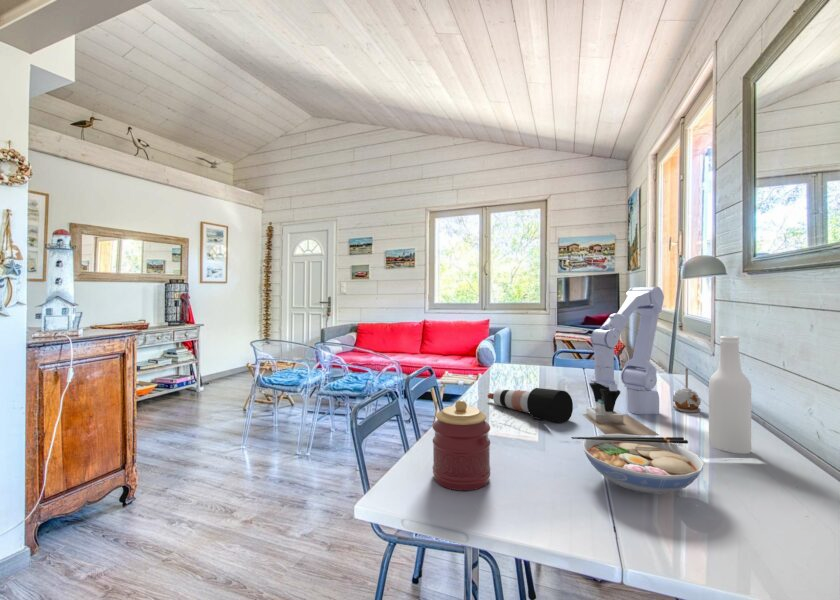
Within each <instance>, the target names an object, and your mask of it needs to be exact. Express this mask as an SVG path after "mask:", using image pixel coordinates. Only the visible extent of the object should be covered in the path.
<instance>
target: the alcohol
mask: <svg viewBox="0 0 840 600" xmlns="http://www.w3.org/2000/svg"><path fill="white" fill-rule="evenodd" d="M719 340H720V341H719V343H720V345H719V346H720V348H719V358H718V367H717V370H715V372H714V373H713V374H711V376H710V377H709V380H708V445H709V446H710V447H712V448H714V449H716V450H720V451H724V452H728V453H733V454H749V453H752V386H751V382H750V379H748V377H747V376H746V375H745V374H744V373H743V370H742V367H741V358H740V349H739V348H740V347H739V344H740V341H739V340H740V337H739V336H737V335H735V336H734V335H721V336H719Z"/></svg>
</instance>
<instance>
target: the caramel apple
mask: <svg viewBox="0 0 840 600" xmlns="http://www.w3.org/2000/svg"><path fill="white" fill-rule="evenodd" d="M672 396H673V398H672V401H673V402H674V404H673V407H672V408H673V409H675V410H677V411H681V412H683V411H685V412H684V413H700V412H701V408H700V405H701V400H702V399H701V397H699V394H698V392H696V391H695V390H693V389H692V388H691V387H690V388H689V368H688V367H685V387H683V388H679V389H678V390H676V391H675V392H674V394H673V395H672ZM699 411H700V412H699Z"/></svg>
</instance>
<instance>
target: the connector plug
mask: <svg viewBox="0 0 840 600" xmlns="http://www.w3.org/2000/svg"><path fill="white" fill-rule="evenodd" d="M595 405H596V406H595V407H596V412H597V413H598V414H612V412H606V411H605V407H604V400H603V397H602V400H598V402H595Z"/></svg>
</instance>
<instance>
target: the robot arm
mask: <svg viewBox="0 0 840 600" xmlns="http://www.w3.org/2000/svg"><path fill="white" fill-rule="evenodd" d="M625 298H626V299H625V301H624V302H623V303H622V305H621V307H620V308H619V309H618V311H617V312H615V313H611V314H609V316H608V318H607V319H606V320H605V322H603V324H602V325H601V326H600V327H599V328H597V329H594V330H593V331H592V332H591V336H590V337H589V341H590V343H591V346H592V350H593V352H594V355H593V356H594V375H592V378H591V379H590V382H589V386H590V388H591V391H592V393H593V397H594V401H595V403H596V402H598V400H602V397H603V400H604V407H605V411H606V412H613V410H614V409H615V406H616V402H617V399H618V398H619V395H620V394H621V390H619V389H618V384H616V380H615V348H616V346H617V345H618V343H619V338H620V334H621V333H622V332H623V331H624V330H625V328H626V327H627V325H628V319H629V317H630V316H632V314H633V313H634V312H637V313H639V314H640V320H639V325H638V329H637V334H636V340H635V345H634V350H633V354H632V358H630V359H629V360H627V361H626V362H624V366H623V369H622V370H621V372H620V380H621V383H622V384H624V387H625V388H626V411H627V412H629V413H631V414H632V413H633V414H637V415H659V414H660V394H659V391H658V390H657V389H656V388H655V387H656V386H657V385H656V384H657V381H658V380H657V370H658V369H657V368H656V366H655V365H653V364H652V362H651V357H652V351H653V347H654V341H655V336H656V331H657V325H658V321H659V316H660V315H659V314H660V313H661V312H662V310H663V305H664V299H665V294H664V292H663V290H662V289H661V287H659V286H658V285H657V286H643V287H640V286H638V287H635V286H632V287H630V288H629V289H628V291H626V293H625Z"/></svg>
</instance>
